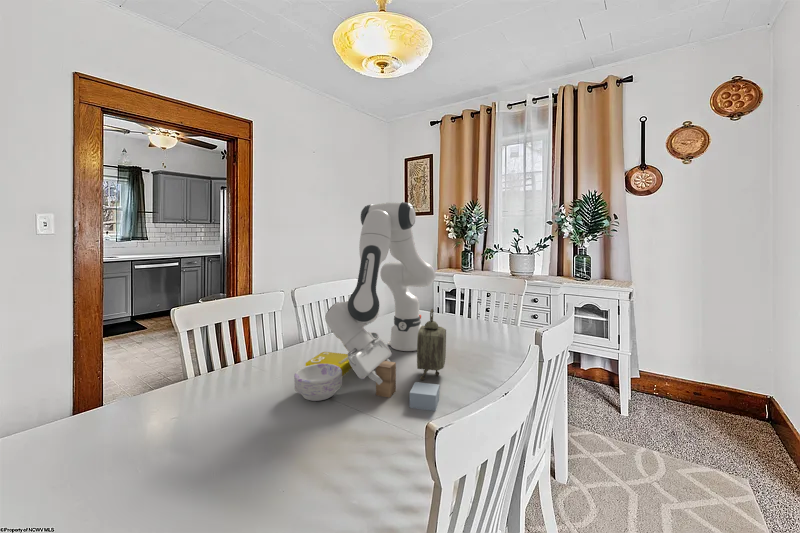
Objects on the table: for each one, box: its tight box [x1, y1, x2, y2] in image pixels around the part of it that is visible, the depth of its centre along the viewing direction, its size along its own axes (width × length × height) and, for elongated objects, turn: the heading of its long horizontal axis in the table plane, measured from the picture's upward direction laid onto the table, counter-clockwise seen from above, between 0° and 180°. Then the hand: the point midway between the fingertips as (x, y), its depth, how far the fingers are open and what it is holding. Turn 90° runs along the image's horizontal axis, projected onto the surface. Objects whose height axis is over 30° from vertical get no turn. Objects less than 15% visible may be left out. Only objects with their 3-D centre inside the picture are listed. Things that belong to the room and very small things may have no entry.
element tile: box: [304, 351, 353, 377], centre depth 143 cm, size 15×15×5 cm
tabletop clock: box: [416, 308, 447, 381], centre depth 136 cm, size 14×9×25 cm, turn 168°
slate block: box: [408, 381, 441, 412], centre depth 115 cm, size 8×8×5 cm
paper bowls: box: [293, 364, 343, 402], centre depth 121 cm, size 15×15×8 cm
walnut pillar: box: [375, 361, 397, 398], centre depth 122 cm, size 5×5×10 cm
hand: (387, 377), depth 122 cm, fingers open, 8 cm apart
